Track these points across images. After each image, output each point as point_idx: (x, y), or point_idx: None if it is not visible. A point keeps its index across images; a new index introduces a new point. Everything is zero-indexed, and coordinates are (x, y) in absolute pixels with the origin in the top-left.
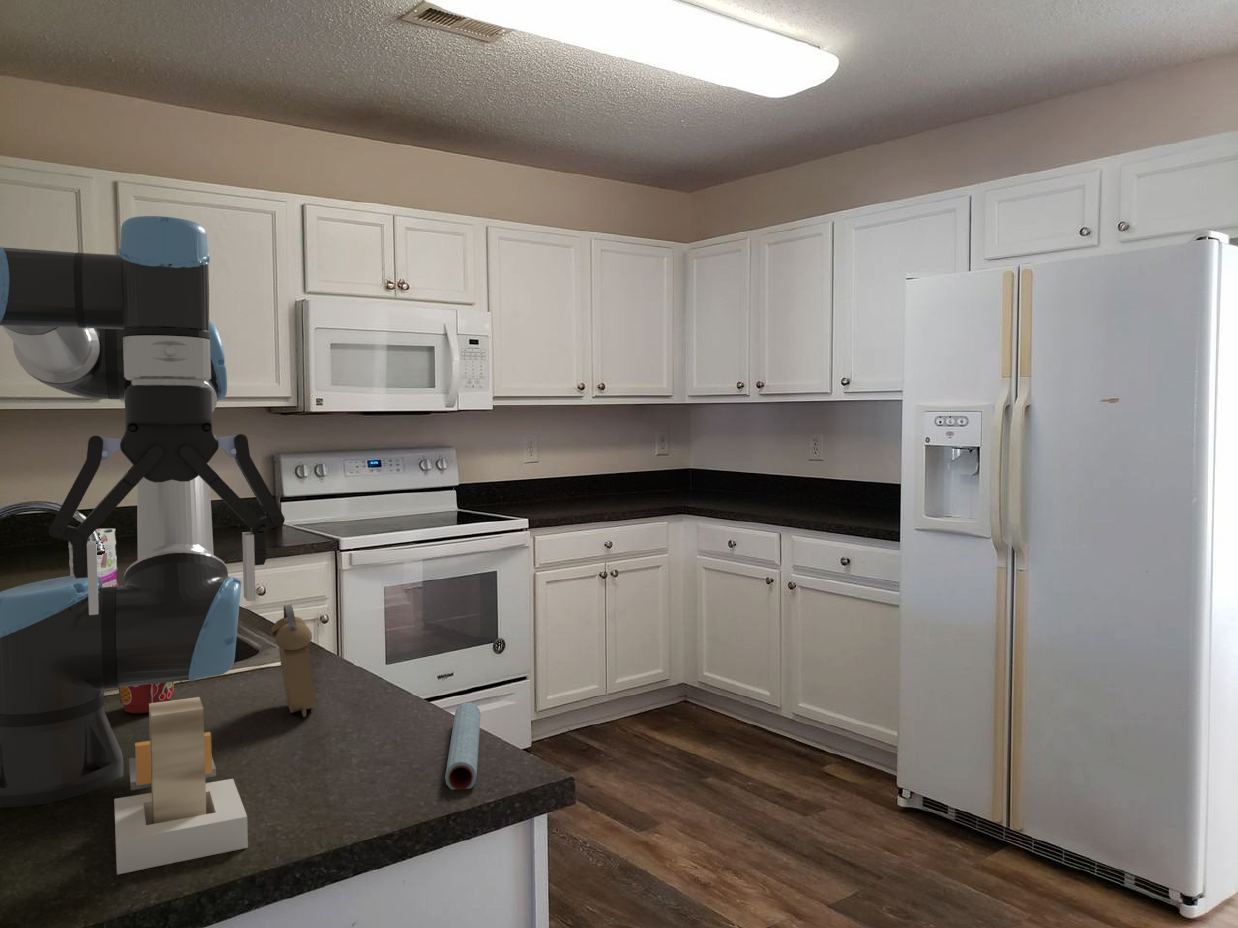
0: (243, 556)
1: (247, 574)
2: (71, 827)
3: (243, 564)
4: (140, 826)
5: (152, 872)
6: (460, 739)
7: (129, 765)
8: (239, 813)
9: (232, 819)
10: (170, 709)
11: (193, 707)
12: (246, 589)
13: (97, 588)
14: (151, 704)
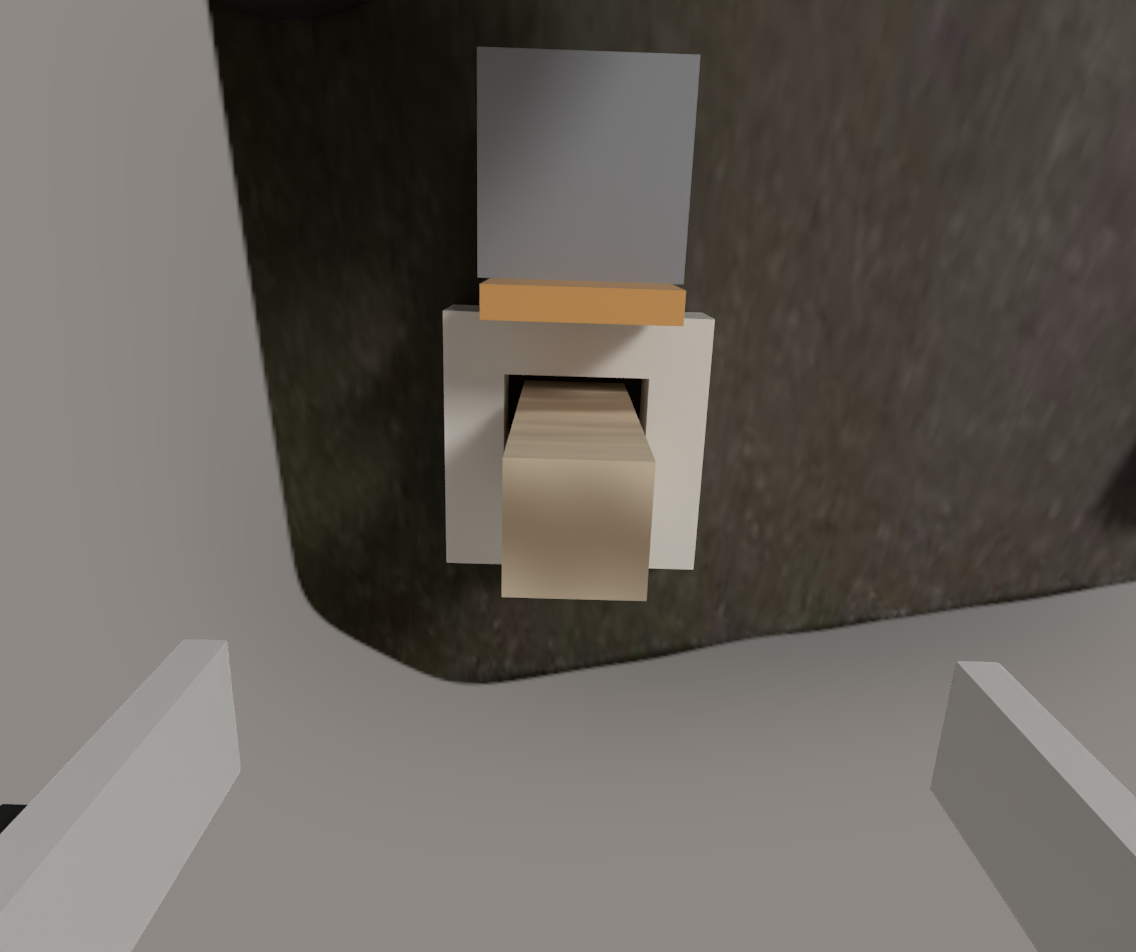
0: (1104, 860)
1: (1009, 905)
2: (363, 241)
3: (1065, 810)
4: (492, 512)
5: None
6: None
7: (477, 121)
8: (682, 547)
9: (664, 568)
10: (558, 559)
11: (622, 572)
12: (962, 806)
13: (179, 870)
14: (509, 470)
